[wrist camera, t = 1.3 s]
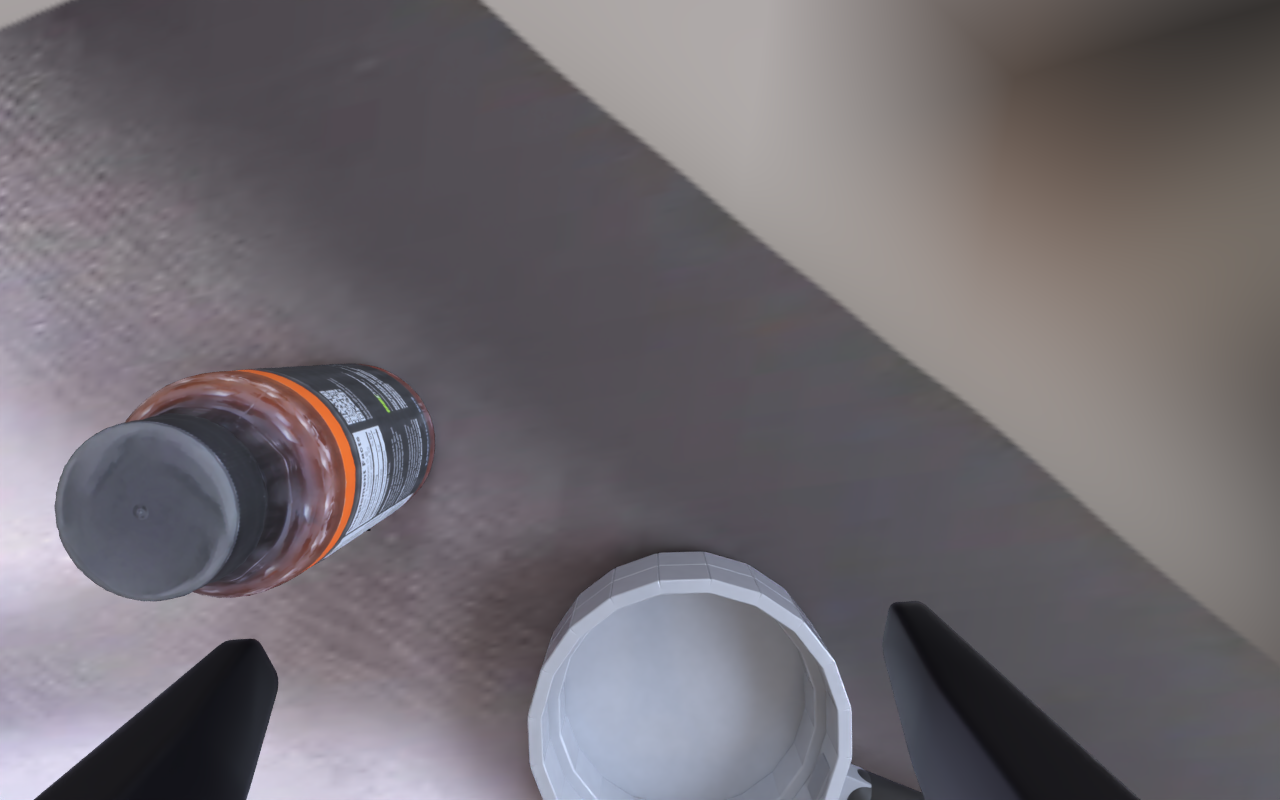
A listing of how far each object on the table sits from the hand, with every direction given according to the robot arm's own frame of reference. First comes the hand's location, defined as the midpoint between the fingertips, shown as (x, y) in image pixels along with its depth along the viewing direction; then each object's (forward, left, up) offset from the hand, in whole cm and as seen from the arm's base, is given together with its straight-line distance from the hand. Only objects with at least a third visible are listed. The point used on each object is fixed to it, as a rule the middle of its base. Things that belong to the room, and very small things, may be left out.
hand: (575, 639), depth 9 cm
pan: (-4, -9, -16) cm, 18 cm away
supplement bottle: (-7, +7, -16) cm, 19 cm away
